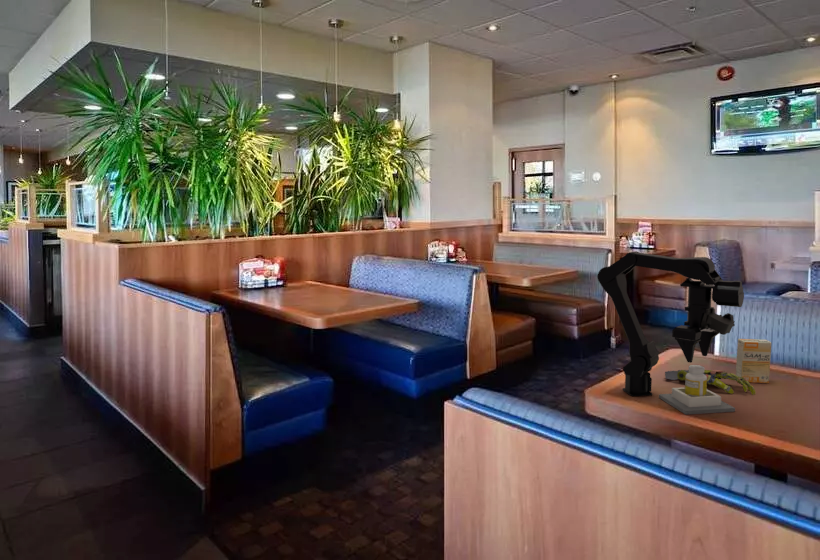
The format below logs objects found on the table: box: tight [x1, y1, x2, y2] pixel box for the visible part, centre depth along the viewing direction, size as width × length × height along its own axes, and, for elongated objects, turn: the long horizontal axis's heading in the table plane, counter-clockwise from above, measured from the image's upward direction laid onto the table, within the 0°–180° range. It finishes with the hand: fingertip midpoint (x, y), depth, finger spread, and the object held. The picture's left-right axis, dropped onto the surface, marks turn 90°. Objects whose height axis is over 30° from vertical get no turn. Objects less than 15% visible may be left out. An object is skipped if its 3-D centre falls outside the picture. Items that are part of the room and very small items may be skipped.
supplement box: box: [735, 338, 772, 384], centre depth 185 cm, size 8×5×13 cm, turn 80°
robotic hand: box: [664, 369, 756, 396], centre depth 182 cm, size 12×7×25 cm
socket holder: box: [658, 386, 736, 415], centre depth 166 cm, size 14×14×4 cm
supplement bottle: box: [684, 364, 708, 397], centre depth 166 cm, size 5×5×10 cm
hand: (697, 359), depth 165 cm, fingers open, 9 cm apart
